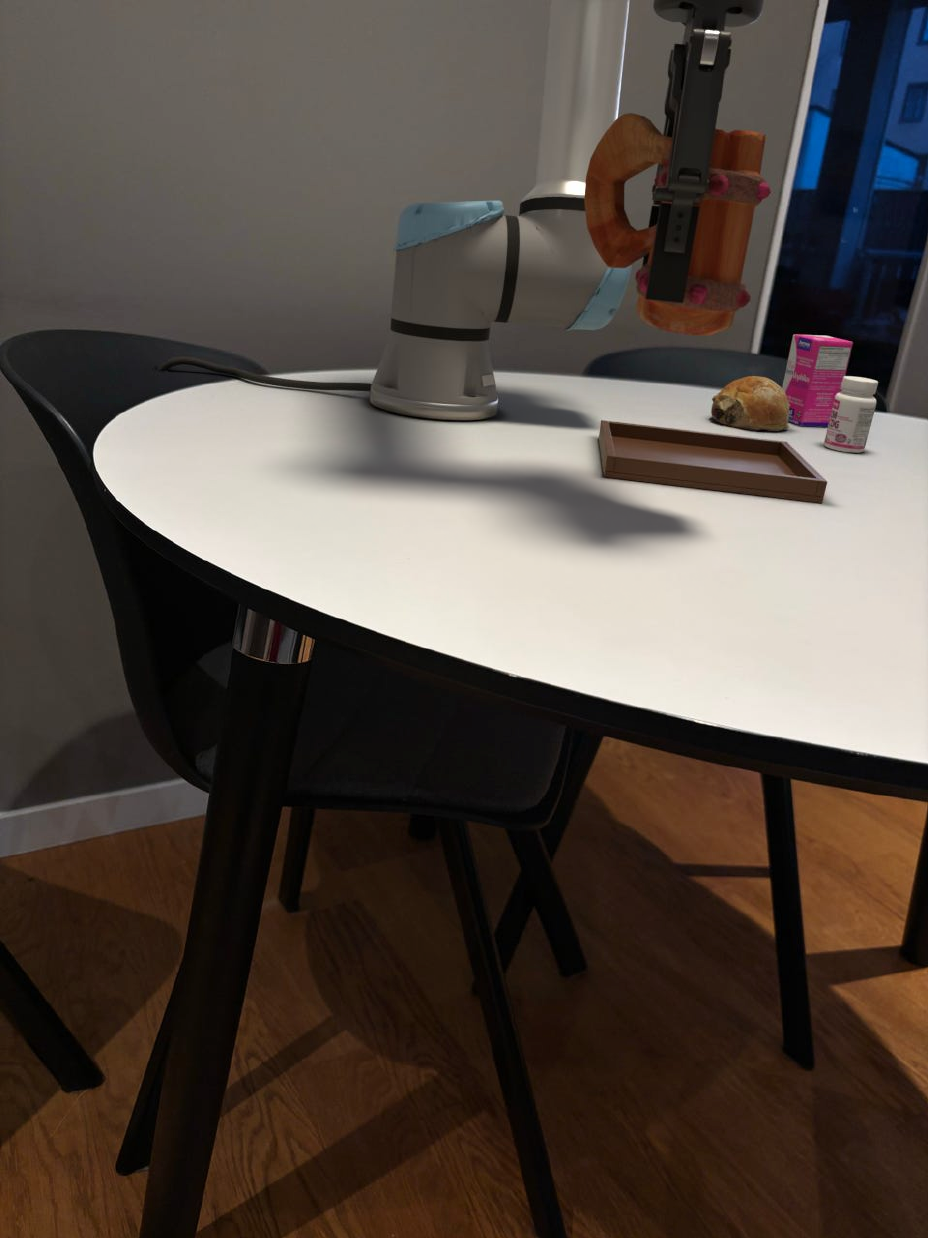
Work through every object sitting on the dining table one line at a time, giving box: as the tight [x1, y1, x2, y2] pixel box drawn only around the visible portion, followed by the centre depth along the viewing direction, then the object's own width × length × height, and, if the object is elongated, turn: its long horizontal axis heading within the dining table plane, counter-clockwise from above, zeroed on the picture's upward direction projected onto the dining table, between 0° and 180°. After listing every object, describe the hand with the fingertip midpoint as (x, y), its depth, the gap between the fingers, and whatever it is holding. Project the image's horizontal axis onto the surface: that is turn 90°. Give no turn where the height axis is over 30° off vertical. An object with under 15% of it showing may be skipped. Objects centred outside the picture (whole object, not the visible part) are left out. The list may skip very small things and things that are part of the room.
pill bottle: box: [823, 375, 879, 454], centre depth 118 cm, size 5×5×8 cm
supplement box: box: [781, 333, 854, 428], centre depth 133 cm, size 6×6×12 cm
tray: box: [598, 419, 828, 504], centre depth 101 cm, size 21×19×2 cm
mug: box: [584, 112, 772, 337], centre depth 75 cm, size 15×8×15 cm, turn 54°
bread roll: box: [710, 375, 790, 432], centre depth 128 cm, size 10×10×8 cm
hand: (659, 296), depth 76 cm, fingers closed on mug, 8 cm apart
